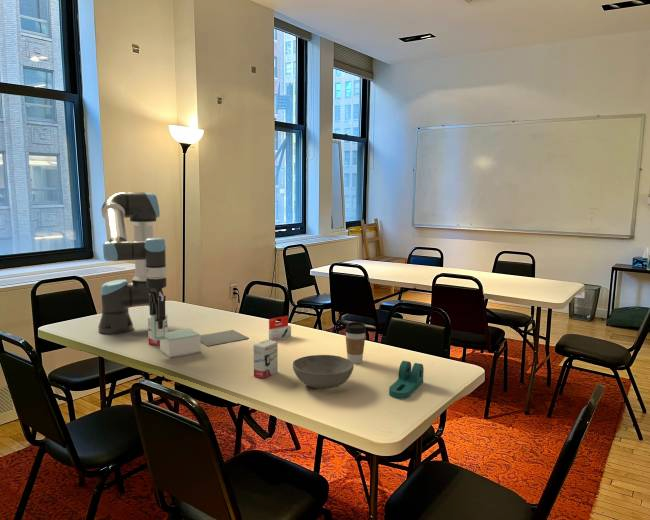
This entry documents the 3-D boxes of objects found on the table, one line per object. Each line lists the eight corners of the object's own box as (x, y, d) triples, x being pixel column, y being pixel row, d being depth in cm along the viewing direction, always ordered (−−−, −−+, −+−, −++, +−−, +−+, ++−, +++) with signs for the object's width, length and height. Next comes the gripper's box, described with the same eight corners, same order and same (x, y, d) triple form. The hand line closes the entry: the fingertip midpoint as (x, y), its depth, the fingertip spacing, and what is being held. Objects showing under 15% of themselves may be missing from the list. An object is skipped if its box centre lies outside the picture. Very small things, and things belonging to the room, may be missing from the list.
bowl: (282, 391, 166) (282, 368, 165) (305, 370, 185) (305, 350, 184) (342, 401, 158) (342, 377, 157) (360, 379, 178) (360, 357, 177)
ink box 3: (291, 336, 228) (291, 316, 227) (271, 341, 221) (271, 320, 219) (288, 335, 230) (288, 315, 229) (268, 340, 223) (268, 319, 221)
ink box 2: (263, 379, 176) (263, 347, 174) (252, 376, 179) (252, 344, 177) (278, 372, 183) (278, 341, 182) (267, 369, 186) (267, 339, 184)
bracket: (404, 379, 179) (405, 358, 178) (423, 383, 176) (424, 361, 174) (385, 396, 163) (386, 373, 162) (405, 401, 160) (406, 377, 159)
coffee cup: (367, 359, 199) (368, 323, 197) (362, 366, 191) (363, 328, 189) (347, 356, 202) (348, 320, 199) (341, 363, 194) (342, 326, 192)
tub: (160, 350, 205) (159, 334, 204) (190, 345, 213) (190, 329, 212) (169, 358, 196) (169, 341, 195) (200, 352, 204) (200, 335, 203)
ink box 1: (158, 345, 212) (157, 318, 211) (148, 344, 213) (147, 317, 211) (168, 339, 221) (167, 313, 219) (158, 338, 222) (157, 313, 220)
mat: (193, 337, 224) (192, 336, 224) (233, 330, 236) (233, 329, 236) (207, 346, 212) (207, 345, 212) (249, 338, 224) (249, 337, 224)
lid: (148, 337, 201) (148, 313, 200) (189, 331, 212) (189, 307, 210) (157, 344, 193) (156, 319, 191) (199, 337, 203) (199, 313, 202)
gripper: (139, 275, 199) (141, 331, 202) (153, 281, 186) (155, 341, 189) (158, 273, 204) (160, 328, 207) (173, 279, 190) (174, 338, 193)
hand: (158, 334), depth 198 cm, fingers closed on lid, 4 cm apart
